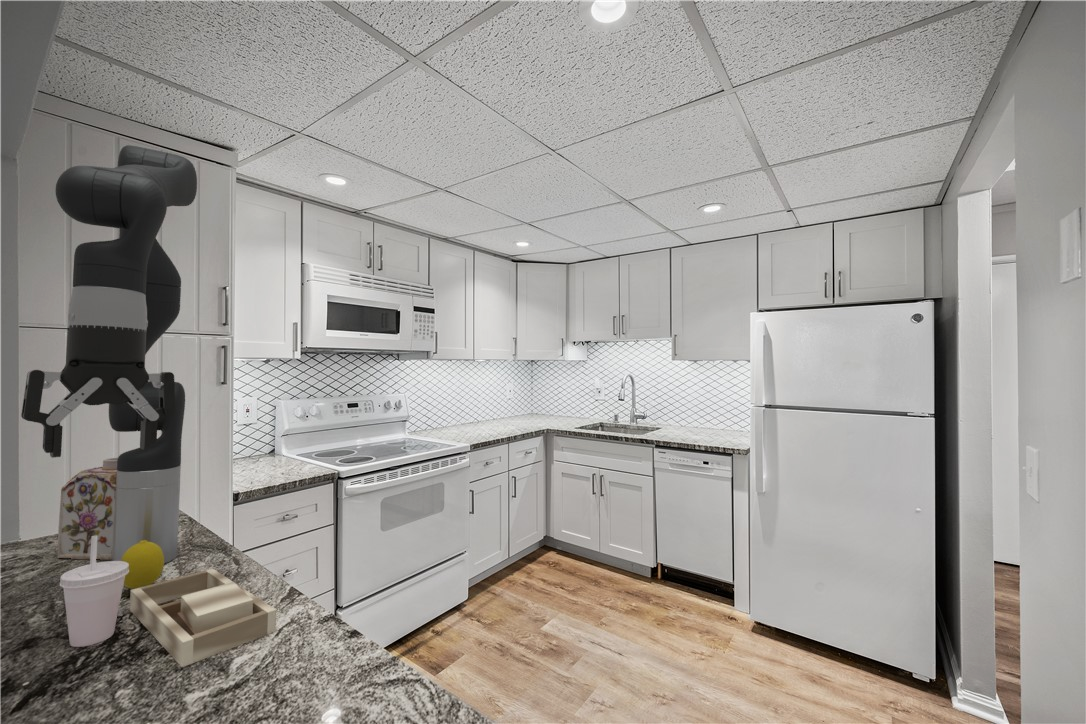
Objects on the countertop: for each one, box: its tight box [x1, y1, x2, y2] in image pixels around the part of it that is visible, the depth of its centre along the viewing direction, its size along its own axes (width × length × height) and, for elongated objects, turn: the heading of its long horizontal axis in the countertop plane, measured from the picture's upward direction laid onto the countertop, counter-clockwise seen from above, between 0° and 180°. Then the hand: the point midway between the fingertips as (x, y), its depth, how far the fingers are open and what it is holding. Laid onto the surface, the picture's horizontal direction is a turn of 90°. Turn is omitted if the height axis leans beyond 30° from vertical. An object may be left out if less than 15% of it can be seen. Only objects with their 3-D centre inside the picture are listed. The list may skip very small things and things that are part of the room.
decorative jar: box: [57, 456, 119, 561], centre depth 95 cm, size 12×12×18 cm
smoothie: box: [59, 535, 129, 648], centre depth 60 cm, size 6×6×14 cm
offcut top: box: [180, 581, 253, 633], centre depth 62 cm, size 8×6×2 cm
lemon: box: [121, 540, 165, 590], centre depth 76 cm, size 6×6×8 cm
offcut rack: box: [129, 568, 277, 668], centre depth 64 cm, size 22×10×4 cm, turn 53°
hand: (102, 452), depth 61 cm, fingers open, 8 cm apart
